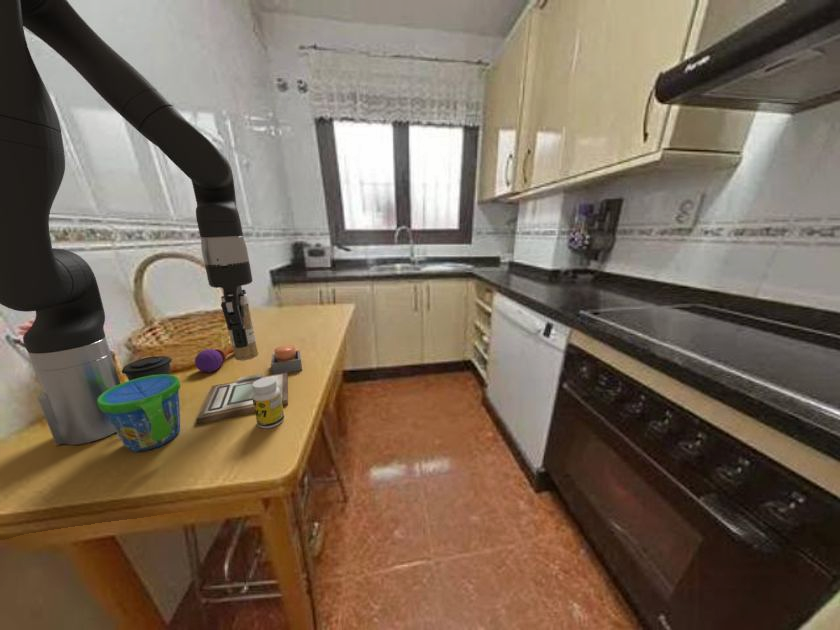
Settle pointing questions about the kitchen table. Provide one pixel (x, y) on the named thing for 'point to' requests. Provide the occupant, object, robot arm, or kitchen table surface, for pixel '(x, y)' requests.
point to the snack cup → (144, 410)
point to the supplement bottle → (267, 403)
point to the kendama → (211, 359)
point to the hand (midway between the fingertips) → (243, 342)
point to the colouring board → (236, 398)
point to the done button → (285, 353)
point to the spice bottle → (251, 348)
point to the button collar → (286, 365)
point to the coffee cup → (147, 367)
